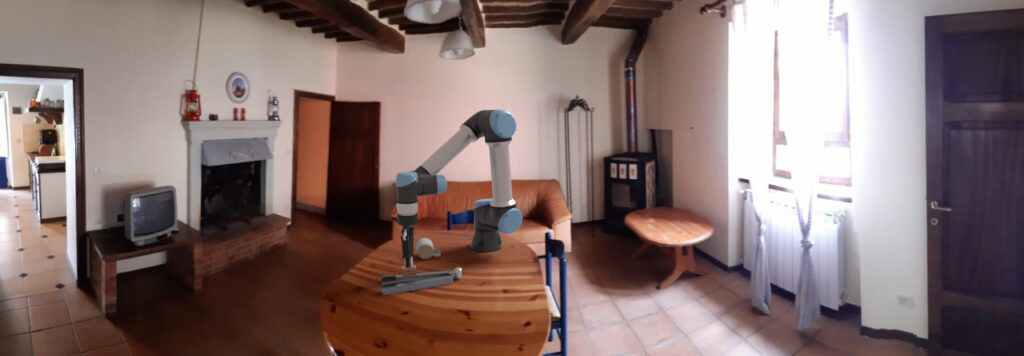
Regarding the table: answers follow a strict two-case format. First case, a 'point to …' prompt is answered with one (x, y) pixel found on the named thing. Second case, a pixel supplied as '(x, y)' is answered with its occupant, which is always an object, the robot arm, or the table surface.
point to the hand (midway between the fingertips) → (408, 273)
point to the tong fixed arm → (414, 285)
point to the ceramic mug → (426, 249)
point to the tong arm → (420, 275)
